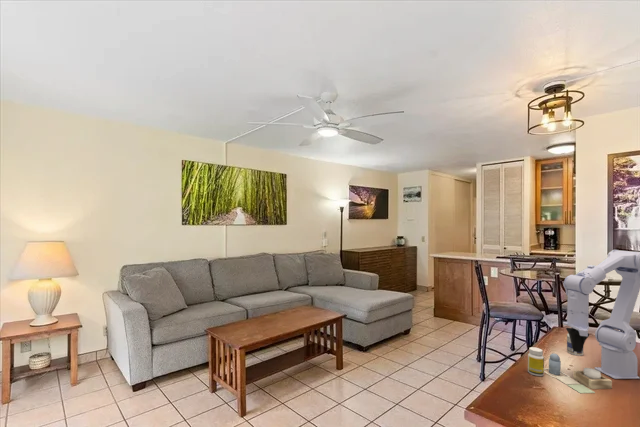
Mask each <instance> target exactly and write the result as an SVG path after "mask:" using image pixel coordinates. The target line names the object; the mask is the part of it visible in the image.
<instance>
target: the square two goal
mask: <svg viewBox="0 0 640 427" xmlns="http://www.w3.org/2000/svg"><path fill="white" fill-rule="evenodd" d="M567 387H569V388H571V389H573V390H574V391H576V392H577V393H578V394H596V392H595V391H594V390H593V389H590V388H589V387H587V386H585V385H584V384H582V383H580V384H567Z"/></svg>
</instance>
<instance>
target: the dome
mask: <svg viewBox="0 0 640 427" xmlns="http://www.w3.org/2000/svg"><path fill="white" fill-rule="evenodd" d="M583 371H584V375H585V376H587V377H588V378H590V379H601V375H602V372H600V371H598V370H596V369H595V368H591V367H583Z"/></svg>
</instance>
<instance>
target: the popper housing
mask: <svg viewBox="0 0 640 427" xmlns="http://www.w3.org/2000/svg"><path fill="white" fill-rule="evenodd" d="M572 373H573V374H572V375H573V378H572V379H573V380H575V381H577V382H578V381H579V382H578V383H580V384H582V385H583V386H585V387H587V388H589V389H590V390H601V389H602V390H605V389H606V390H608V389H609V390H610V389H613V380H612V379H610V378H608V377H607V376H604V375H602V374H601V379H590V378H588V377H587V376H585V375H584V370H573V372H572Z"/></svg>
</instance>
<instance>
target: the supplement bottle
mask: <svg viewBox="0 0 640 427" xmlns="http://www.w3.org/2000/svg"><path fill="white" fill-rule="evenodd" d="M543 351H544V350H543V349H541V348H539V347H536V346H535V347H534V346H533V347H532V346H531V347H529V349H528V352H529V353H528V354H527V372H528V374H530V375H533V376H537V377H543V376H544V375H545V372H544V371H545V370H544V368H545V365H544V364H545V357H544V355H543V354H544V352H543Z"/></svg>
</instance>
